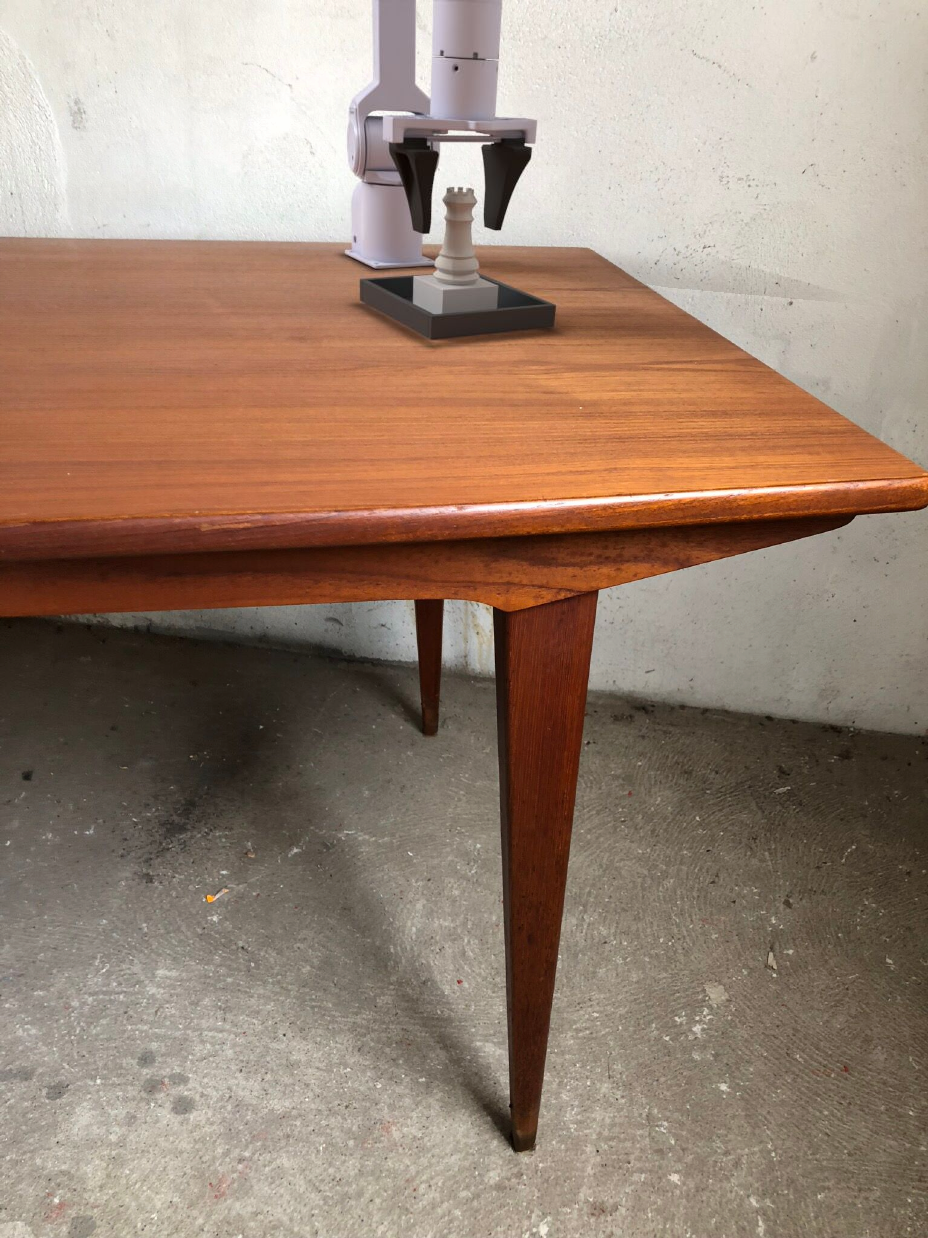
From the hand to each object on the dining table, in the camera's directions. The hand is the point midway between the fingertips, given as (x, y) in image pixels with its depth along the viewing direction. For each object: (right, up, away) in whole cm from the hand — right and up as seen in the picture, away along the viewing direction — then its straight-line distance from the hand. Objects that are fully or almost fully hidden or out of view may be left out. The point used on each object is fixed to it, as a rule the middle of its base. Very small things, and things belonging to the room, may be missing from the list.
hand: (457, 230), depth 84 cm
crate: (0, -7, +4) cm, 8 cm away
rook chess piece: (0, -4, +2) cm, 5 cm away
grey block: (0, -6, +4) cm, 8 cm away
